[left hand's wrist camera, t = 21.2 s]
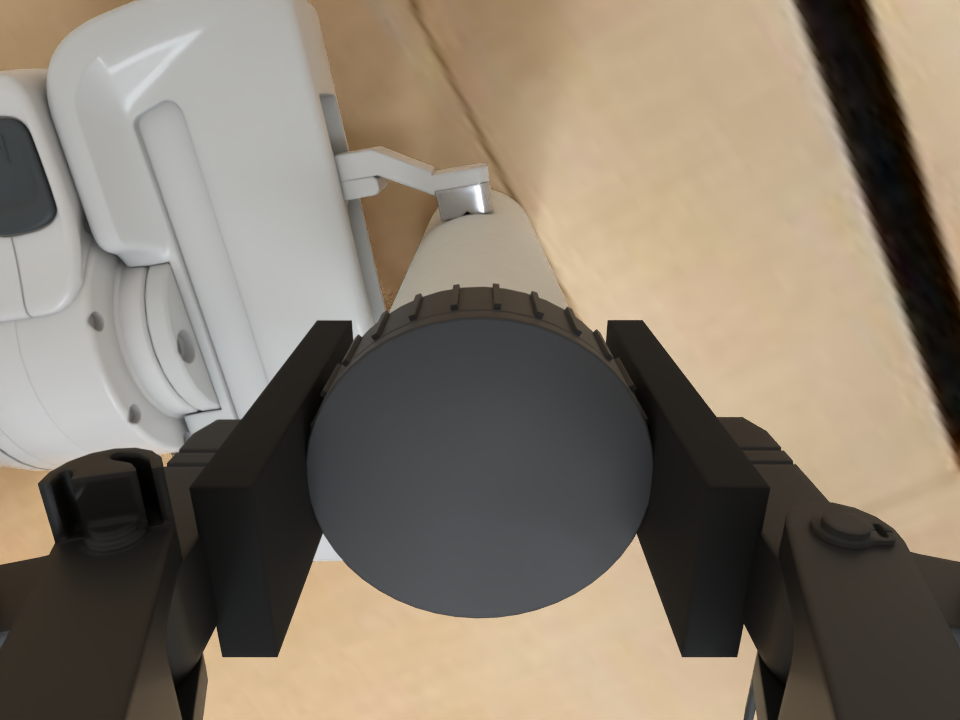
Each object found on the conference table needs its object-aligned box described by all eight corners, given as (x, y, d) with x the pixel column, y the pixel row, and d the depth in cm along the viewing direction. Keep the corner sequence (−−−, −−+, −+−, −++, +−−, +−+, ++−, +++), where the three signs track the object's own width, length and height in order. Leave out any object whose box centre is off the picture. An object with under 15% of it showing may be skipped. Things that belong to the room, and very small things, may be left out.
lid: (500, 603, 13) (503, 672, 12) (264, 453, 12) (231, 507, 10) (699, 411, 12) (735, 459, 10) (452, 211, 10) (447, 231, 9)
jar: (554, 260, 28) (668, 494, 11) (463, 316, 29) (440, 609, 12) (497, 165, 27) (529, 267, 10) (403, 227, 28) (281, 419, 11)
